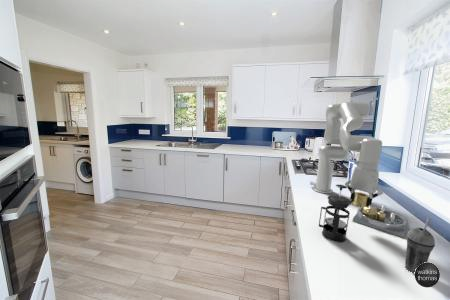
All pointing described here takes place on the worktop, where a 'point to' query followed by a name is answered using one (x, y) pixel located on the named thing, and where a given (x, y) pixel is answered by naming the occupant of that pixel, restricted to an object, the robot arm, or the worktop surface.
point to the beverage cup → (418, 247)
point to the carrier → (381, 220)
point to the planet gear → (360, 199)
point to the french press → (336, 218)
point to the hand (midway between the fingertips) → (360, 202)
